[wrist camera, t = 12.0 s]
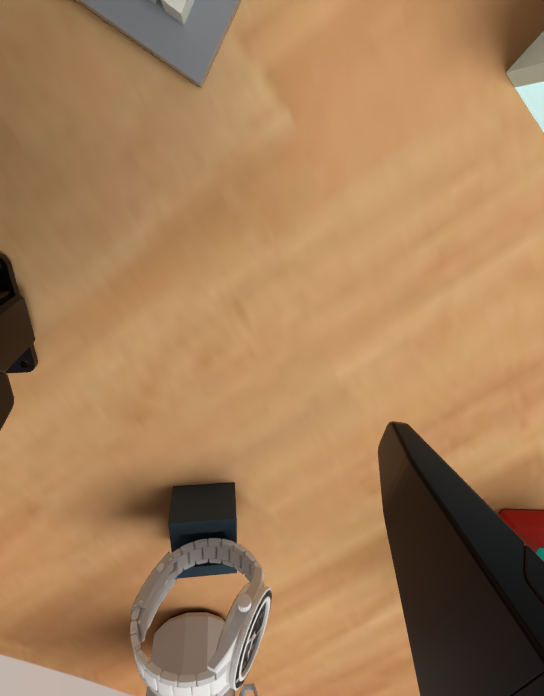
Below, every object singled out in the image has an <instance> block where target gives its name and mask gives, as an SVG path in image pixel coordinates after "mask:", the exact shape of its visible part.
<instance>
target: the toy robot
mask: <svg viewBox="0 0 544 696" xmlns="http://www.w3.org/2000/svg"><path fill="white" fill-rule="evenodd" d="M499 517H500V518H501V519H502V520H503V521H504V522H505V523H506V524H507V525H508V526H509V527H510V528H511V529H512V530H513V531H514V532H515V533H516V534H517V535H518V536H519V537H520V538H521V539H522V540H523V541H524V542H525V545H528V546H529V547H530V548H531V549H532V550H533V551H534V552H535V553H536V554H537V555H538V556H539V557H540V558H541V559H542V560H543V561H544V511H538V510H502V511H501V512H500V514H499Z"/></svg>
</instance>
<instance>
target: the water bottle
mask: <svg viewBox="0 0 544 696" xmlns="http://www.w3.org/2000/svg"><path fill="white" fill-rule="evenodd" d="M224 623H225V621H224V620H223V619H222V618H221V617H219V616H216V615H213V614H210V613H207V612H194V613H185V614H182V615H179V616H176V617H173V618H170V619H169V620H168V621H167V622H165V623H164V624H163V625H162V626H161V627H160V628H159V629H158V630H157V631H156V633H155V634H154V639H153V647H152V654H151V662H152V663H153V664H155V665H156V666H157V667H159V668H161V670H162V672H163V671H167V672H169V673H173V674H177V675H178V678H179V676H180V675H191V674H194V675H195V676H196V679H197V675H198V674H199V673H203V672H206V671H209V669H208V664H209V661H210V659H211V658H212V656H213V655H214V654H215V652H216V649H217V645H218V641H219V637H220V634H221V631H222V628H223V625H224ZM251 690H253V691H254V694H255V696H258V694H257V691H256V688H255V685H254V683H253V684H244V685H243V688H242V690H241V692H240V695H239V696H245V693H246V692H249V691H251ZM146 696H157V695H156V694H155V693H153V692H152V691H151V689H150V687H148V686H147V692H146ZM223 696H235V690H234V689H232V688H231V687H230V688H229V689H228V691H227V692H226V693H225V694H224V695H223Z"/></svg>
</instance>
